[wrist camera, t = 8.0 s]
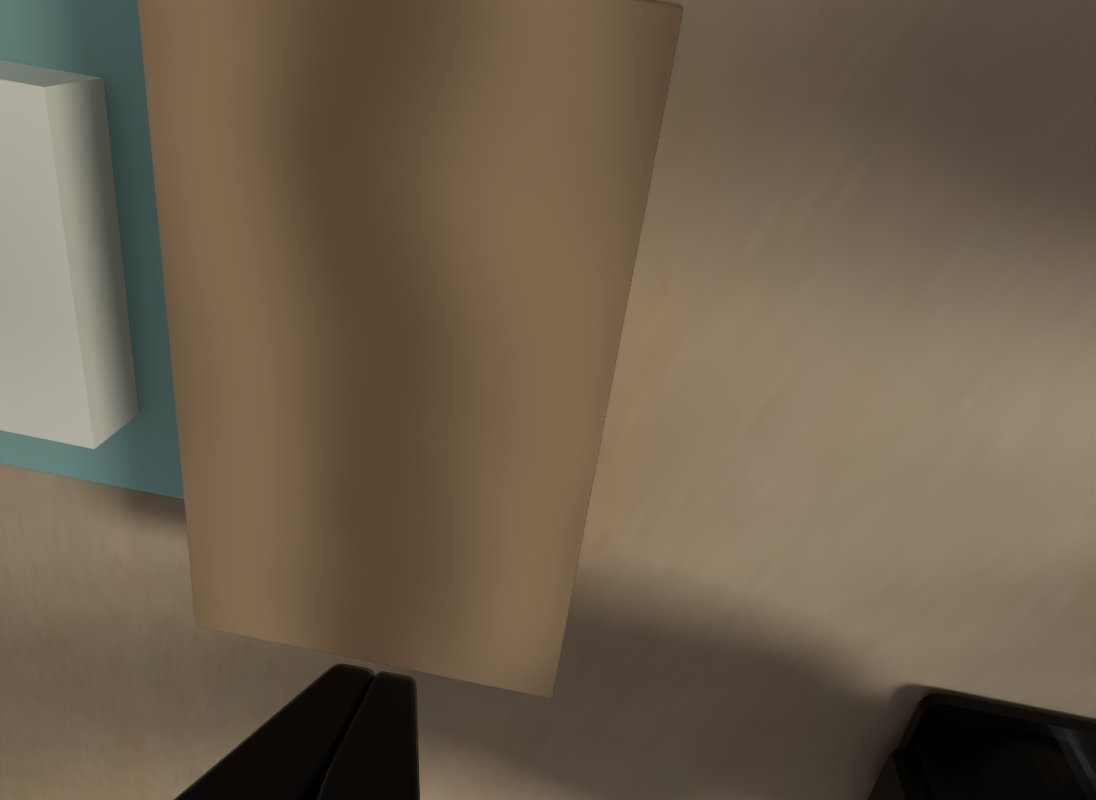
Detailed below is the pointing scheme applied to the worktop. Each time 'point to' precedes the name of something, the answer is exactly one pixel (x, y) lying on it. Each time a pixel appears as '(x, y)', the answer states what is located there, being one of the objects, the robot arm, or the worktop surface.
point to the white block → (60, 262)
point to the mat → (116, 56)
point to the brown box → (398, 308)
